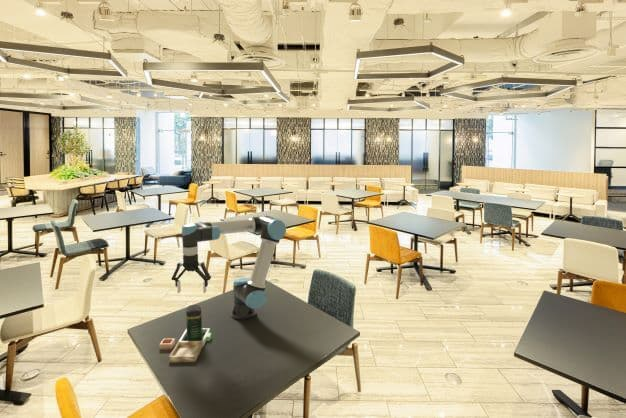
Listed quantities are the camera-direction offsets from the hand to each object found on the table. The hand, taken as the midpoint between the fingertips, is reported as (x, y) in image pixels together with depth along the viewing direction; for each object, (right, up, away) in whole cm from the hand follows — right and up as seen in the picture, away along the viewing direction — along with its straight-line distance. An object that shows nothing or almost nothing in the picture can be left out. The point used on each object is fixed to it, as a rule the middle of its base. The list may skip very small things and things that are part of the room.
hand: (192, 292), depth 197 cm
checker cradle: (0, -26, +4) cm, 27 cm away
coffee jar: (0, -27, +4) cm, 27 cm away
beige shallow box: (+1, -29, -11) cm, 31 cm away
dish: (-11, -28, -4) cm, 30 cm away
